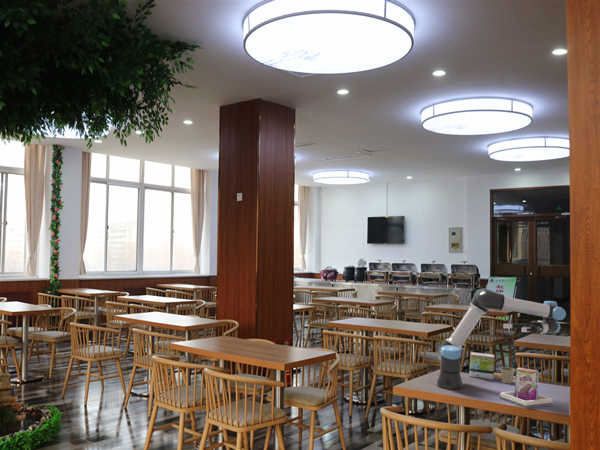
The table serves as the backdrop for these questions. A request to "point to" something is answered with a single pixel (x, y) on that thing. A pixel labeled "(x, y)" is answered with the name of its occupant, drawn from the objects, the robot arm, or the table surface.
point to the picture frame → (525, 403)
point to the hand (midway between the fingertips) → (512, 327)
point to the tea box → (482, 365)
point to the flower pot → (507, 374)
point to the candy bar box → (526, 384)
